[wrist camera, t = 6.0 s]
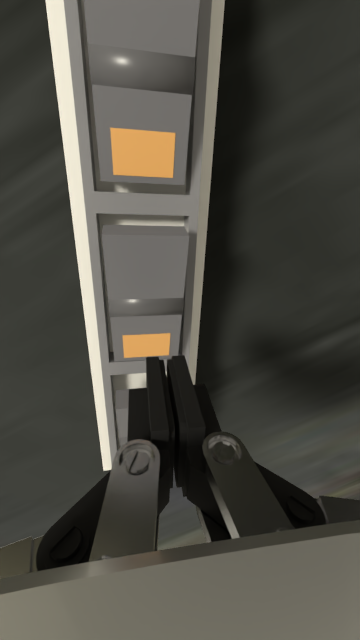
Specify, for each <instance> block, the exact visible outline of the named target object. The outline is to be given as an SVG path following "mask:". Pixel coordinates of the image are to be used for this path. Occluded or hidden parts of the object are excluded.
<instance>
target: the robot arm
mask: <svg viewBox="0 0 360 640" xmlns="http://www.w3.org/2000/svg"><path fill="white" fill-rule="evenodd" d="M173 467H174V472H175V480H176V486H177V487H182V491H183V497H185V496H187V499H188V500H189V501H191V502H192V503H193V504H195V505H196V510H197V515H198V518H199V521H200V524H201V527H202V530H203V533H204V535H205V538H206V541H207V543H203V544H197V545H191V546H184V547H178V548H172V549H166V550H159V551H157V548H158V532H159V514H160V513H161V512H162V510H163V509H164V508H165V506H166V505H167V504H168V502H169V493H170V488H173ZM0 640H360V500H353V499H344V498H336V497H327V496H319V498H318V499H315V498H313V497H312V496H310V495H309V494H307V493H306V492H305V491H303V490H301V489H300V488H298V487H296V486H295V485H293V484H291V483H289V482H288V481H286V480H284V479H283V478H281V477H279V476H278V475H276V474H274V473H273V472H271V471H269V470H268V469H266V468H264V467H262V466H261V465H259V464H257V463H256V462H254V461H253V459H252V458H251V456H250V454H249V453H248V451H247V449H246V448H245V446H244V444H243V443H242V442H241V441H240V439H238V438H237V437H236V436H234V435H232V434H230V433H227V432H221V429H220V426H219V423H218V420H217V417H216V415H215V412H214V409H213V406H212V403H211V401H210V398H209V395H208V392H207V389H206V387H205V385H204V384H195V385H193V382H192V379H191V376H190V372H189V369H188V365H187V362H186V359H185V356H184V355H179V356H172V358H171V359H167V377H166V371H165V365H164V360H159V357H146V388H135V389H129V401H128V436H127V443H125V444H124V445H122V446H121V447H120V448H119V449H118V451H117V452H116V454H115V457H114V460H113V464H112V468H111V471H110V472H109V473H108V474H107V475H106V476H105V477H104V478H102V479H101V480H100V481H99V482H98V483H97V484H96V485H95V486H94V487H93V488H92V489H91V490H90V491H89V492H88V493H87V494H86V495H85V496H83V497H82V498H81V499H80V500H79V501H78V502H77V503H76V504H75V505H74V506H73V507H72V508H71V509H70V510H69V511H68V512H67V513H66V514H64V515H63V516H62V517H61V518H60V519H59V520H58V521H57V522H56V523H55V524H54V525H53V526H52V527H51V528H50V529H49V530H48V531H47V533H46V534H45V535H43V536H41V537H38V538H36V539H32V536H31V537H28V538H25V539H23V540H20V541H17V542H15V543H12V544H9V545H7V546H4V547H2V548H0Z"/></svg>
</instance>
